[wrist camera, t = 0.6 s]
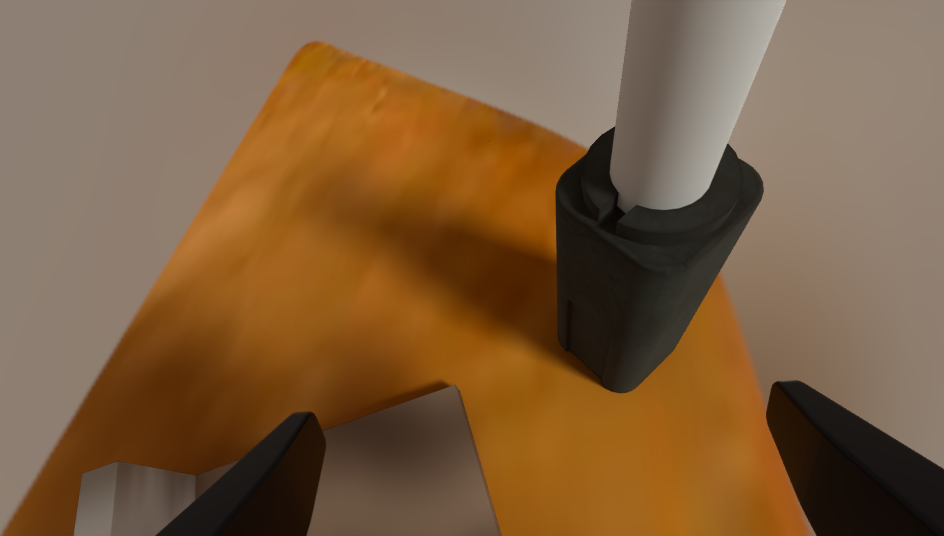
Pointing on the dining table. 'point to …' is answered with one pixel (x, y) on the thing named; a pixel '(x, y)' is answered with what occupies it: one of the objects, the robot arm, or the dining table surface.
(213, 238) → the dining table surface
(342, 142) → the dining table surface
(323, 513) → the shelf board
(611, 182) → the candle
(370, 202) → the dining table surface
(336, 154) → the dining table surface
